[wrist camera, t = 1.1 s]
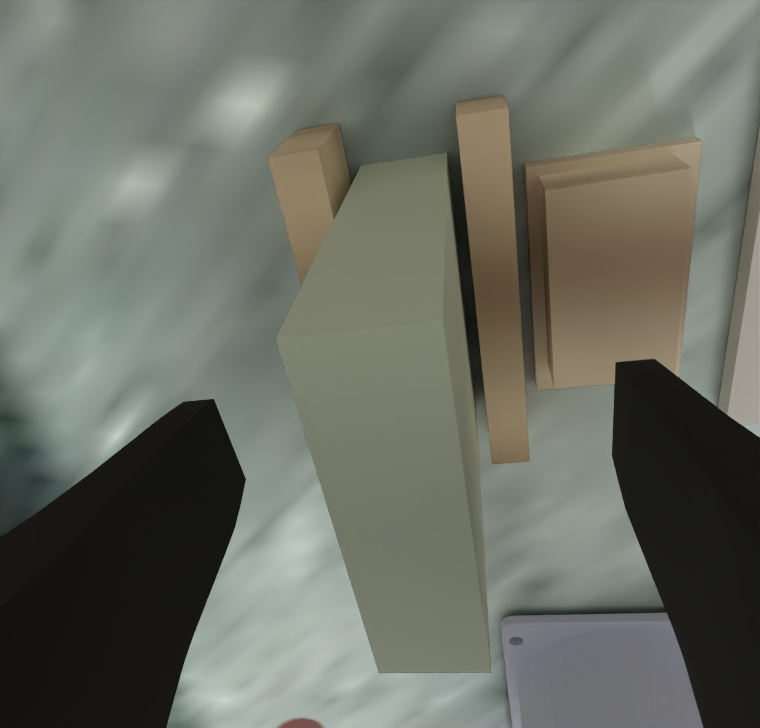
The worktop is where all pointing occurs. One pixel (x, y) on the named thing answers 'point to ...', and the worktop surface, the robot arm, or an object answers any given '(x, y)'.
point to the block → (396, 416)
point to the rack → (485, 231)
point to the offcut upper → (613, 266)
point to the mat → (745, 320)
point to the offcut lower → (681, 148)
